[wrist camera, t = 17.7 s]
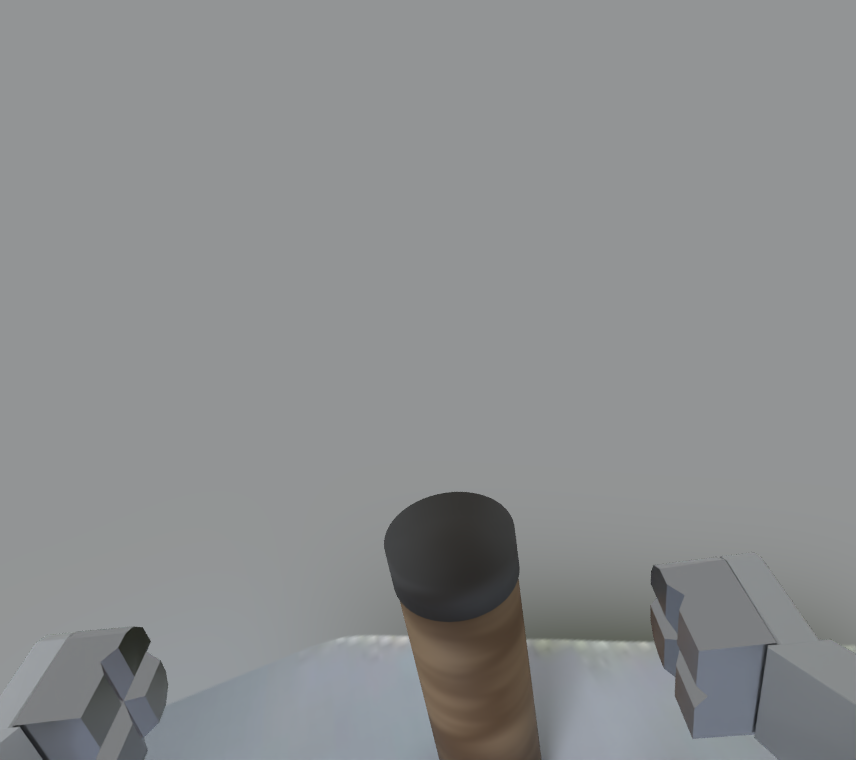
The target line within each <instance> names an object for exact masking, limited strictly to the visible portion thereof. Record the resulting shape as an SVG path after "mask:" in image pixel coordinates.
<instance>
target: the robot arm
mask: <svg viewBox="0 0 856 760" xmlns="http://www.w3.org/2000/svg"><path fill="white" fill-rule="evenodd" d="M651 585H652V587H653V590H654V592H655V594H656V597H657V598H656V599H655V600H654V601H653V603H652V604H651V605H650V607H651V625H652V631H653V637H654V641H655V645H656V648H657V651H658V654H659V657H660V659H661V662H662V665H663V667H664V669H665V670H667V671H668V672H669V673H671V674H672V675H673V676H675V677H676V679H675V697H676V699H677V702H678V704H679V707H680V709H681V712H682V714H683V716H684V719H685V721H686V724H687V726H688V729H689V731H690V733H691V736H692V738H693V739H696V738H711V737H725V736H739V735H753V734H755V737H754V738H755V739H756V740H758V741H759V742H760V743H761V744H762V745H763V746H764V747H765V748H766V749H767V750H769V751H770V752H771V753H772V754H773V755H774V756H775V757H776V758H777V759H778V760H856V654H855V653H854V652H852V651H850V650H849V649H847V648H845V647H843V646H842V645H840V644H838V643H836V642H835V641H833V640H832V639H826V640H819V638H818V637H817V635H816V634H815V633H814V631H813V630H812V628H811V627H810V625H809V624H808V623H807V621H806V620H805V618H804V617H803V616H802V614H801V613H800V611H799V610H798V608H797V607H796V606H795V604H794V603H793V601H792V600H791V599H790V597H789V596H788V594H787V593H786V592H785V590H784V589H783V587H782V586H781V584H780V583H779V582H778V580H777V579H776V577H775V576H774V574H773V573H772V572H771V570H770V569H769V567H768V566H767V564H766V563H765V562H764V560H763V559H762V557H761V556H759V555H758V554H756V553H754V552H752V553H745V554H736V555H729V556H721V557H719V558H718V557H713V558H704V559H696V560H689V561H682V562H673V563H665V564H657V565H654V566H653V568H652V571H651ZM150 642H151V641H150V639H149V637H148V636H147V634H146V632H145V631H144V629H143V627H123V628H111V629H100V630H90V631H78V632H73V633H62V634H51V635H46V636H45V637H43V638H42V639H41V640H39V641H38V642H36V644H35V645H34V647H33V648H32V650H31V651H30V652H29V654H28V655H27V657H26V658H25V660H24V661H23V663H22V664H21V666H20V667H19V669H18V670H17V672H16V673H15V675H14V676H13V678H12V679H11V680H10V682H9V683H8V685H7V686H6V688H5V690H4V691H3V692H2V694H1V695H0V760H144V759H145V756H146V754H147V751H148V750H147V746H146V743H145V740H144V737H145V736H146V735H147V734H148V733H149V732H150V731H151V730H152V729H153V728H154V727H155V726H156V725H157V724H158V723H159V721H160V719H161V716H162V713H163V711H164V708H165V706H166V699H167V689H168V682H167V676H166V671H165V669H164V667H163V664H162V663H161V660H159V659H157V658H156V657H154V656H152V655H151V654H149V653H148V652H147V649H148V647H149V644H150Z"/></svg>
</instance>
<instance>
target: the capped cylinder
mask: <svg viewBox="0 0 856 760" xmlns="http://www.w3.org/2000/svg"><path fill="white" fill-rule="evenodd" d="M384 549H385V553H386V557H387V561H388V565H389V569H390V573H391V577H392V581H393V585H394V589H395V592H396V595H397V597H398V598H399V600H400V602H401V607H402V611H403V615H404V619H405V623H406V627H407V631H408V635H409V639H410V643H411V647H412V651H413V655H414V659H415V663H416V667H417V671H418V675H419V679H420V683H421V687H422V691H423V695H424V699H425V703H426V707H427V711H428V715H429V719H430V724H431V728H432V732H433V736H434V740H435V744H436V748H437V752H438V756H439V760H541V753H540V745H539V737H538V729H537V721H536V714H535V706H534V698H533V690H532V682H531V674H530V666H529V658H528V650H527V642H526V635H525V627H524V619H523V611H522V603H521V596H520V587H519V579H518V577H519V560H518V552H517V544H516V536H515V528H514V523H513V519H512V517H511V515H510V514H509V512H508V511H507V510H506V509H505V508H504V507H503V506H502V505H501V504H500V503H498V502H496V501H495V500H493V499H491V498H489V497H486V496H483V495H480V494H475V493H469V492H451V493H443V494H437V495H434V496H430V497H428V498H425V499H422V500H420V501H418V502H416V503H414V504H412V505H410V506H409V507H407V508H406V509H405V510H403V511H402V512H401V513H400V514H399V515H398V516H397V517H396V518H395V519H394V520H393V521H392V523H391V524H390V526H389V528H388V530H387V532H386V535H385V540H384Z"/></svg>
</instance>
